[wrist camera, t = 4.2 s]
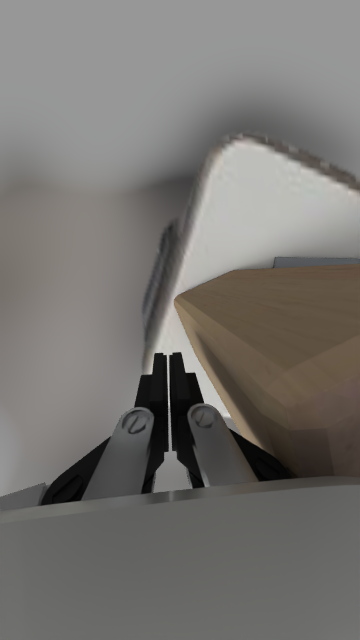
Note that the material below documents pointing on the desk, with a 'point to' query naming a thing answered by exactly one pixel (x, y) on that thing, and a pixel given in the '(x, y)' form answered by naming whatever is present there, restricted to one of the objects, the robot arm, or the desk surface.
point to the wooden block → (285, 360)
